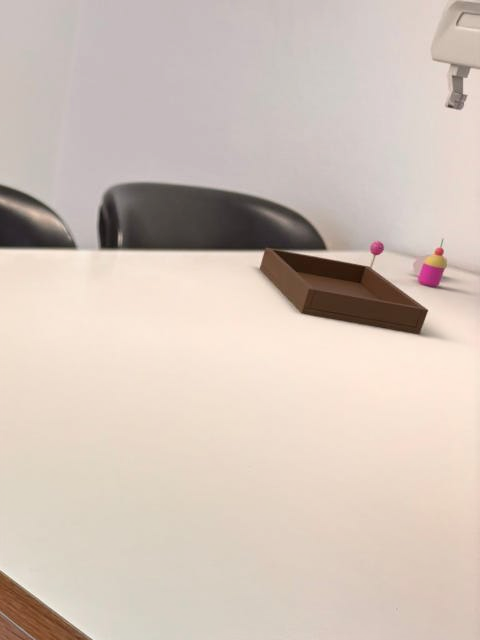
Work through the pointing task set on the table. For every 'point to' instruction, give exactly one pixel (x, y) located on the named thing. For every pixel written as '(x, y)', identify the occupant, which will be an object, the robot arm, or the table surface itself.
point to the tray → (342, 291)
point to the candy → (421, 265)
